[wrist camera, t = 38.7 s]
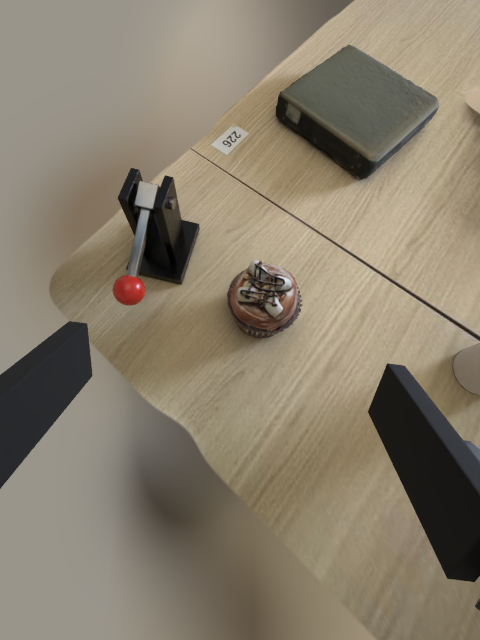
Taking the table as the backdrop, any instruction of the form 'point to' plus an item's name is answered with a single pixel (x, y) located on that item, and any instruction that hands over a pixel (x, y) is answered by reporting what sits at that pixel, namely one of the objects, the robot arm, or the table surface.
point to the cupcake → (264, 299)
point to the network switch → (356, 110)
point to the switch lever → (137, 247)
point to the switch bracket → (161, 231)
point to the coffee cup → (468, 368)
